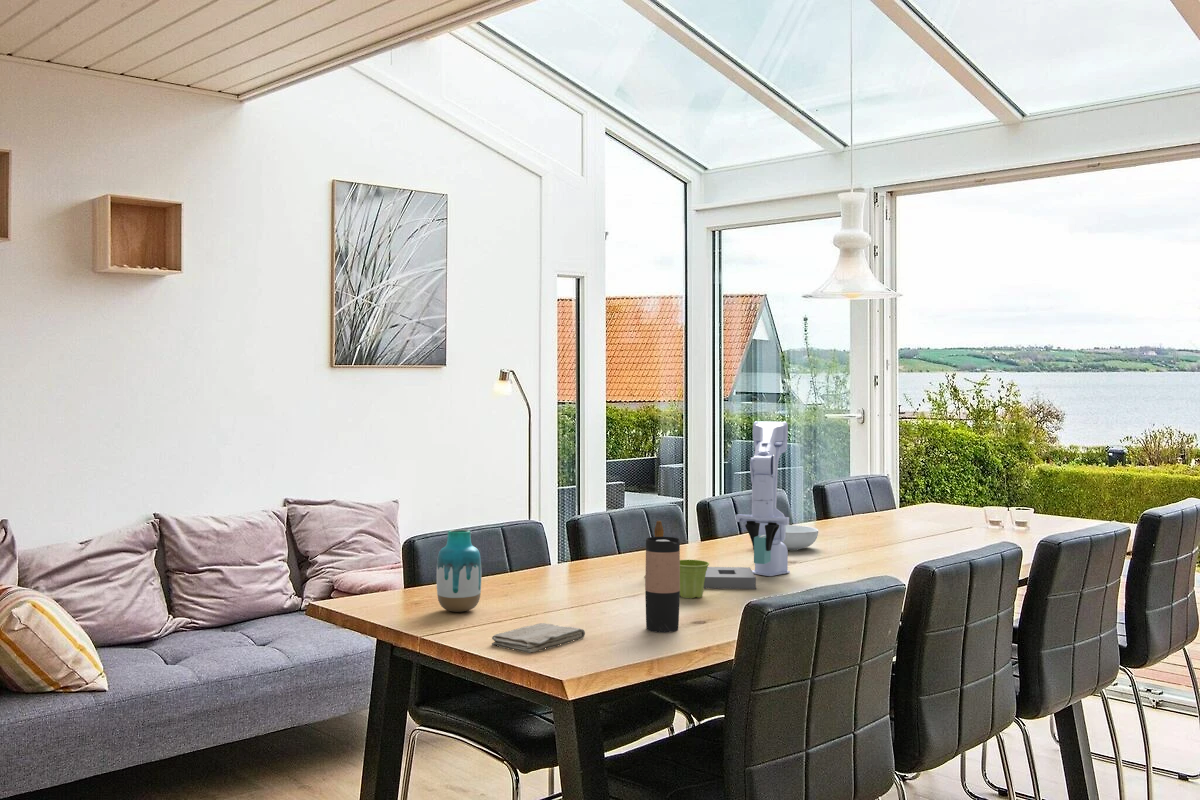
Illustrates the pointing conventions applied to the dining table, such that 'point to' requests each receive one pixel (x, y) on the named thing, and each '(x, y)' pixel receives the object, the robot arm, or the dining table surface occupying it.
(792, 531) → the serving bowl
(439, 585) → the vase
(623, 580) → the dining table surface
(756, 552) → the keyed peg
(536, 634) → the washcloth
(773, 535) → the robot arm
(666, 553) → the travel mug
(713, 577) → the keyed socket
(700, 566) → the plant pot
